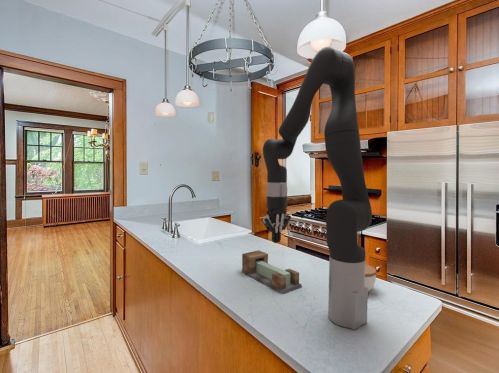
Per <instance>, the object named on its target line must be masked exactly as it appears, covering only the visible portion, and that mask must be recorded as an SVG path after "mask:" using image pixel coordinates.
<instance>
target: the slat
mask: <svg viewBox="0 0 499 373" xmlns="http://www.w3.org/2000/svg"><path fill="white" fill-rule="evenodd" d="M255 272H256V273H258V274H260V275H262V276H264V277H266V278H268V279H270V280H272V274H273V273H278V274H281V275H283V276H285V277H286V285H289V284H290V273H289V272H287V271H285V270H284V269H283V268H282V269H281V268H279V267H278V266H275V265H272V264H269V262H268V263H266V262H263V261H261V260H259V259H255Z"/></svg>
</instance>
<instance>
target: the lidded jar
mask: <svg viewBox="0 0 499 373" xmlns="http://www.w3.org/2000/svg"><path fill="white" fill-rule="evenodd" d="M376 278H377V269H376V268H375V267H373V266H372V265H368V264H366V263H365V287H366V288H368V292H370V291H371V290H372V289H373V288H374V286H375V283H376V280H377V279H376Z"/></svg>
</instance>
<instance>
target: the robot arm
mask: <svg viewBox="0 0 499 373" xmlns="http://www.w3.org/2000/svg"><path fill="white" fill-rule="evenodd" d="M355 68H356V67H355V64H354V59H353V57H352V56H351V55H349V53H346V52H344V51H342V50H340V49H338V48H336V47H332V46H325V47H322V48H321V49H319V50H318V51H317V53H315V55H314V57H313V58H312V60H311V62H310V65H309V66H308V68H307V71H306V73H305V76H304V79H303V80H302V82H301V85H300V87H299V90H298V93H297V95H296V97H295V99H294V102H293V104H292V106H291V107H290V109H289V112H287V115H286V116H285V118H284V120H283V121H282V123H281V125H280V126H279V128H278V134H279V136H280V137H282V139H280V138H279V139H278V138H268V139H267V140H265V141H264V143H263V147H262V156H263V159H264V164H265V167H266V172H267V175H266V180H267V181H266V182H267V183H266V184H267V185H266V192H265V193H266V194H265V196H266V199H265V200H266V208H267V211H266V215H265V216H264V217H261V219H260V220H261V222H262V224H263V225H264V227H265V228H266V230H267V231H268V232H271V241H272V243H275V244H278V243H281V240H282V232H283V231H285V230H286V228H287V227H288V224H289V223H290V220H291V219H292V218H291V217H292V216H291V215H289V214H288V213H287V210H286V209H287V207H288V182H287V181H288V175H287V174H288V172H287V171H288V170H287V167H286V166H284V165H281V164H280V163H279V160H286V159H288V158H289V157H291V155H292V153H293V151H294V149H295V145H296V142H297V140H298V138H299V136H300V134H301V133H302V132H303V130H304V129H305V127H306V126H307V124H308V122H309V120H310V116H311V110H312V105H313V100H314V98H315V95H316V94H317V92H318V91H319V89H320V88H321V87H322V85H327V86H329V90H330V93H331V108H330V112H329V115H328V117H327V120H326V122H325V126H324V130H323V131H324V134H323V135H324V136H323V137H324V145H325V153H326V157H327V160H328V161H329V162H330V165H331V167H332V169H333V170H334V172H335V174H336V176H337V178H338V180H339V183H340V188H341V195H342V199H338V200H334V201H332V202H331V203H330V204H329V205H328V207H327V211H326V214H325V215H326V216H325V217H326V218H325V226H326V232H325V234H326V246H327V247H328V251H329V262H328V263H329V265H328V266H329V269H328V303H327V304H328V306H327V307H328V309H327V315H328V318H329V320H330V321H331V322H332V323H334V324H335V325H337V326H340V327H343V328H347V329H352V330H353V331H355V330H357V329H359V328H360V327H361V326H364V325H365V324H366V323H368V302H369V301H368V299H369V298H368V296H369V294H368V293H369V291H368V288H366V287H365V264H366V250H365V248H364V247H363V246H360V245H359V244H358V233H359V232H362V231H365V230H367V229H368V228H369V227H370V225H371V223H372V219H373V212H372V206H371V202H370V201H371V200H370V197H369V193H368V190H367V185H366V181H365V180H366V179H365V171H364V164H363V158H362V146H361V137H360V129H359V124H358V123H359V122H358V114H357V113H358V112H357V104H356V88H355V87H356V85H355V81H356V78H355V77H356V76H355V75H356V74H355V73H356V71H355Z"/></svg>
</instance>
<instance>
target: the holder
mask: <svg viewBox="0 0 499 373" xmlns="http://www.w3.org/2000/svg"><path fill="white" fill-rule="evenodd" d="M241 257H242V258H241V261H242V262H241V265H242V267H241V273H242V274H244V275H246V276H248V277H250V278H251V279H253V280H255V281H258V282H260V283H261V284H263V285H266V286H267V287H269V288H270V289H272V290H275V291H277V292H278V293H280V294H281V295H285V294H288V293H290V292H293V291H296V290H298V289H300V288H302V287H303V286H302V283H300V272H299V271H296V270H294V269H292V268H287V269H285V270H284V271H287V272H289V273H290V284H289V285H286V277H285V276H283V275H281V274H278V273H273V274H272V280H270V279H268V278H266V277H264V276H262V275H260V274H258V273H256V272H255V259H259V260H261V261H263V262H266V263H268V264H269V254H268V253H266V252H265V251H261V250H260V249H258V250H253V251H250V252H246V253H242V255H241Z"/></svg>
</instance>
